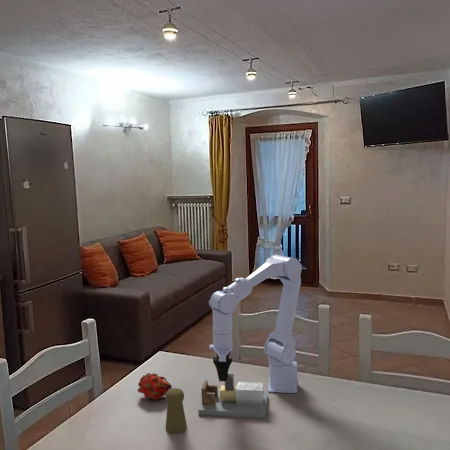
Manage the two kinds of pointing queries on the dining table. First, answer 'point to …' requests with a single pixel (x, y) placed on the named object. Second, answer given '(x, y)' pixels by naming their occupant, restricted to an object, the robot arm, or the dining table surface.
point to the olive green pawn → (175, 411)
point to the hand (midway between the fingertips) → (222, 375)
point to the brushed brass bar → (228, 389)
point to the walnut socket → (209, 393)
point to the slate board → (233, 409)
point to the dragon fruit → (153, 386)
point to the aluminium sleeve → (249, 394)
